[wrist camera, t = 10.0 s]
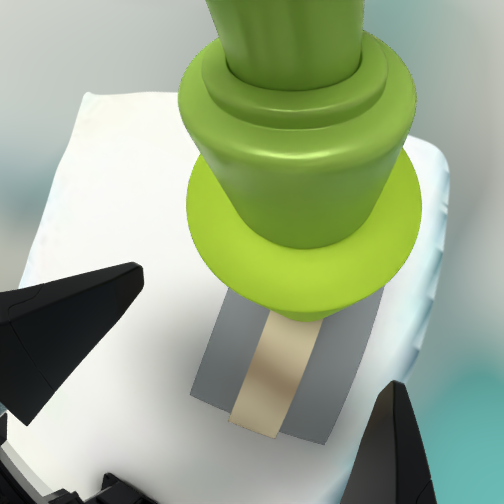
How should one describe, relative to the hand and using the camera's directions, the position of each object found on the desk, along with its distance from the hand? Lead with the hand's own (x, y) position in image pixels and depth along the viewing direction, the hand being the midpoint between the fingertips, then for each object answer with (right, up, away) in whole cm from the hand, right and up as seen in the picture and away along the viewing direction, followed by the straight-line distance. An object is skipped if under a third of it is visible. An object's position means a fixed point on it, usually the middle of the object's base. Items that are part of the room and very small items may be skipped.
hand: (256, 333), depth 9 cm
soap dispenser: (+4, +1, +11) cm, 11 cm away
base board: (+4, -1, +13) cm, 13 cm away
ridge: (+4, -1, +13) cm, 13 cm away
